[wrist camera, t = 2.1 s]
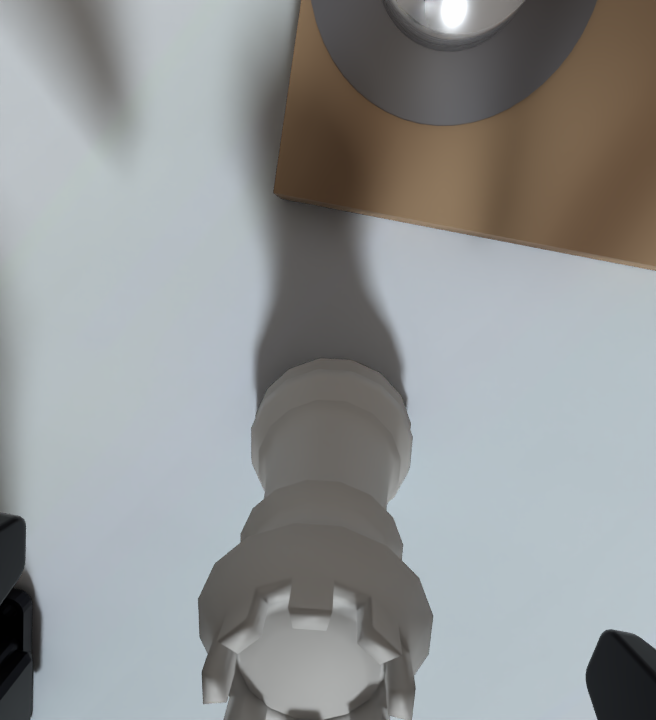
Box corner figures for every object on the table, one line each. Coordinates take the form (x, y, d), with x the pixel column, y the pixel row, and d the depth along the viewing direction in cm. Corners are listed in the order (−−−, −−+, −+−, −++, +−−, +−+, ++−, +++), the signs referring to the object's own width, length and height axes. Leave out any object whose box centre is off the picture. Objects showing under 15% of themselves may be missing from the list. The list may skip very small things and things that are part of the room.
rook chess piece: (386, 509, 13) (436, 863, 6) (244, 475, 13) (99, 786, 6) (428, 374, 12) (561, 585, 5) (274, 336, 12) (145, 485, 4)
